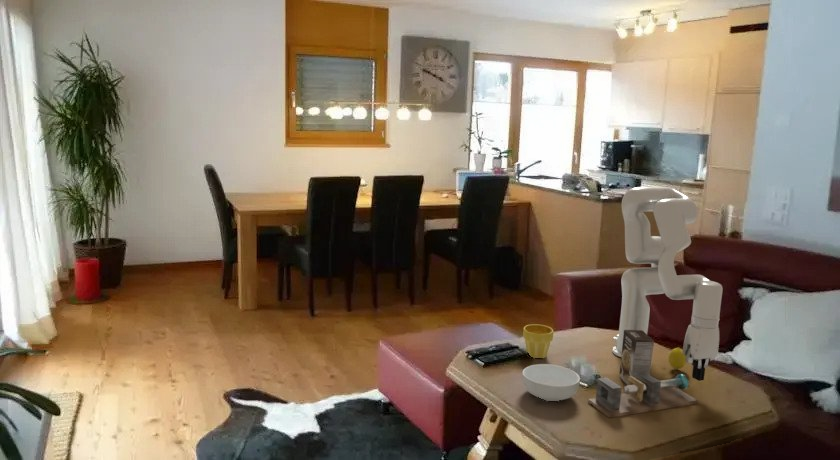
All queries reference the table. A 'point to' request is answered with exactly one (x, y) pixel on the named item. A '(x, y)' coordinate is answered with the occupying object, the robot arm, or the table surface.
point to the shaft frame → (637, 397)
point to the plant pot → (537, 339)
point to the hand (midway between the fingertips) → (697, 378)
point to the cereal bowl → (550, 381)
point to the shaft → (662, 384)
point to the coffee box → (635, 354)
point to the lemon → (677, 358)
